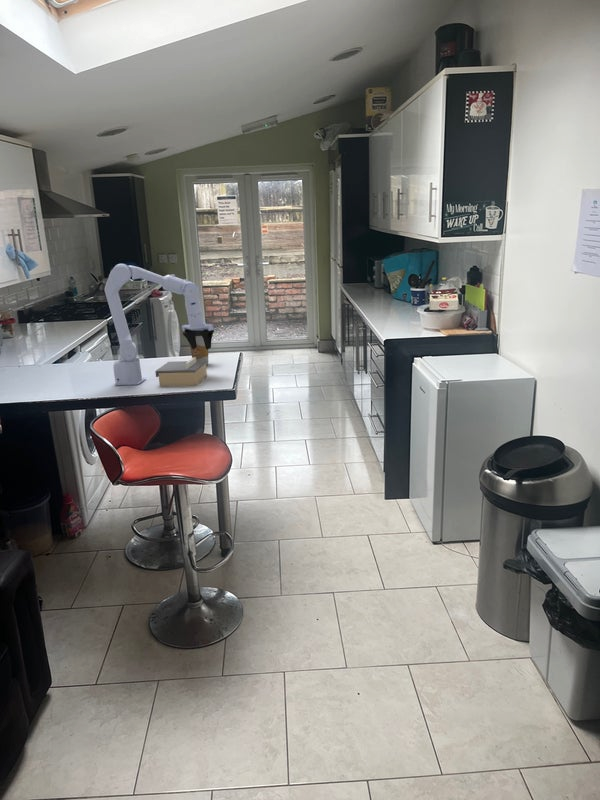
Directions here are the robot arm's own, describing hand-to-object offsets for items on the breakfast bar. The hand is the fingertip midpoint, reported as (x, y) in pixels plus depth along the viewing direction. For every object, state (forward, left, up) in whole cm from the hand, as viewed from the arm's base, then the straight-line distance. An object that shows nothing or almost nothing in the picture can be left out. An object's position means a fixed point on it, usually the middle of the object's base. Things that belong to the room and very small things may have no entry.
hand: (201, 348), depth 235 cm
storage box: (-5, -10, -10) cm, 15 cm away
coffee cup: (-6, +16, -10) cm, 20 cm away
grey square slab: (-5, -10, -7) cm, 13 cm away
